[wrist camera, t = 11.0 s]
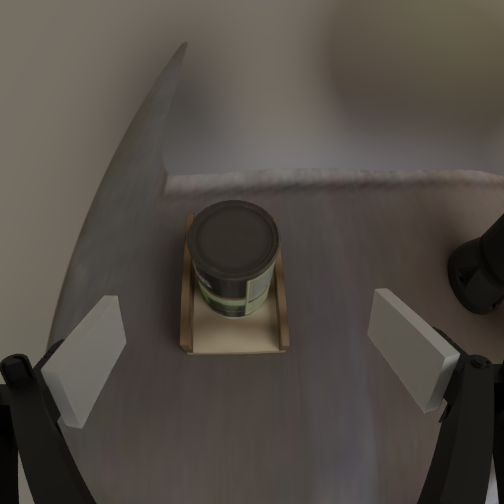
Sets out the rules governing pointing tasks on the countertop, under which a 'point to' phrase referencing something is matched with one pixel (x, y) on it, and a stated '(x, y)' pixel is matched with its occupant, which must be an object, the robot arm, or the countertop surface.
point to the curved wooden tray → (231, 330)
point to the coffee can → (234, 256)
